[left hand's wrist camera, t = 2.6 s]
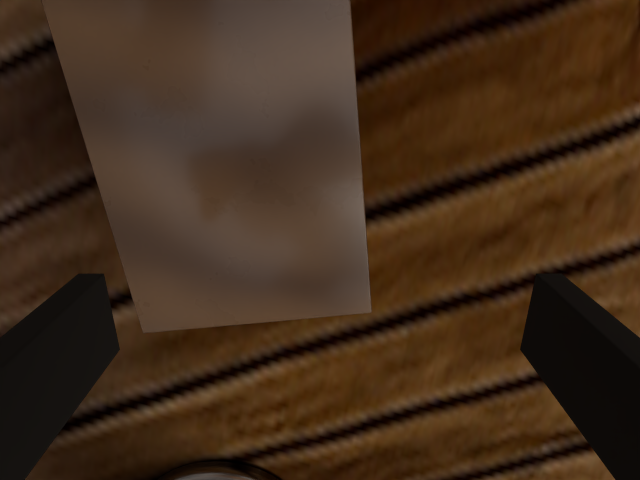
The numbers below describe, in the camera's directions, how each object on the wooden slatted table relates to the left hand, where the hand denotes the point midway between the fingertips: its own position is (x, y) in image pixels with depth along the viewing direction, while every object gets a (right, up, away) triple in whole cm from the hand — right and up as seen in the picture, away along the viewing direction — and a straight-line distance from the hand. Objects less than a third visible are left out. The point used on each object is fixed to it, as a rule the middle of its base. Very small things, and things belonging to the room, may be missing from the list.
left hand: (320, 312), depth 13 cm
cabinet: (-4, +10, +12) cm, 17 cm away
